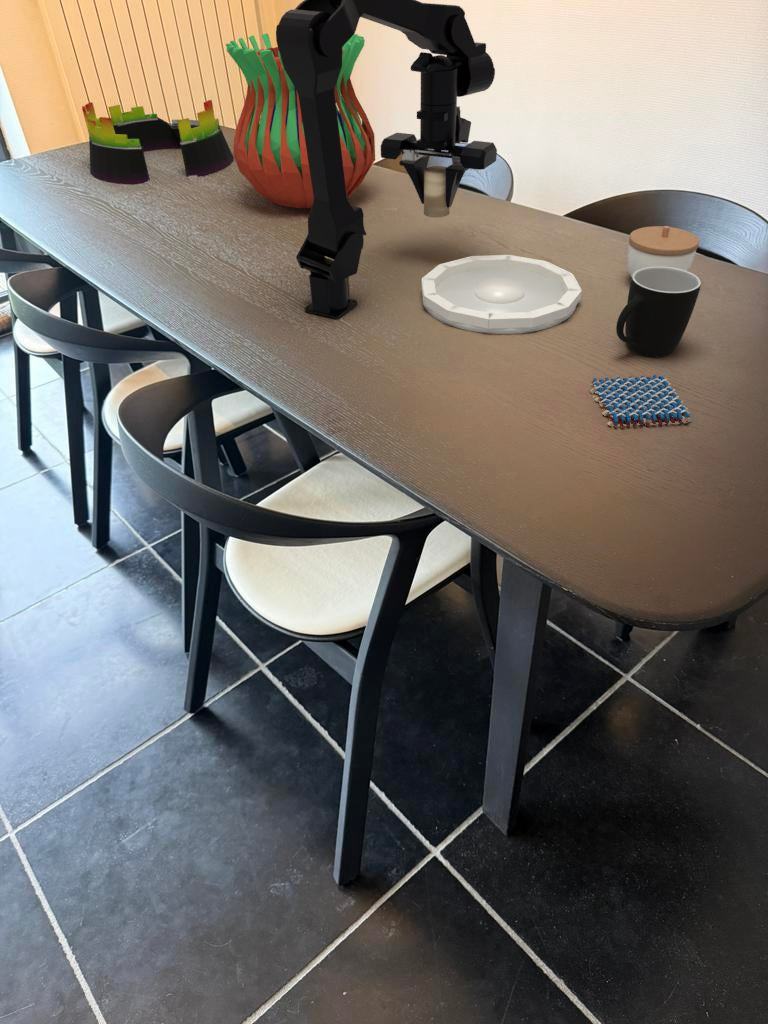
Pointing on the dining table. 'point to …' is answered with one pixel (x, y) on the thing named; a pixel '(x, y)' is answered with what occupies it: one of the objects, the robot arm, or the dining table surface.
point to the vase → (293, 126)
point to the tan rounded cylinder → (435, 192)
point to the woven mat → (638, 400)
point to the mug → (657, 309)
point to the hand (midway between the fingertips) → (436, 205)
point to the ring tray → (500, 294)
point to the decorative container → (152, 143)
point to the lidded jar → (661, 248)
